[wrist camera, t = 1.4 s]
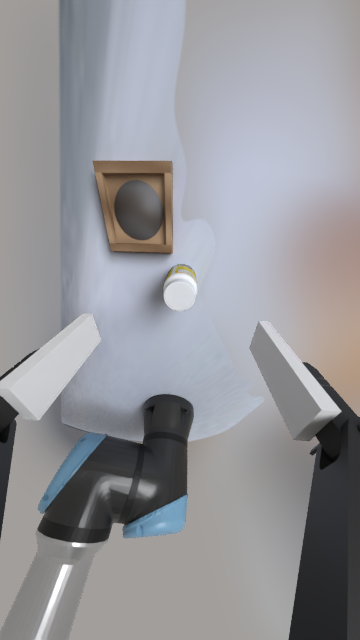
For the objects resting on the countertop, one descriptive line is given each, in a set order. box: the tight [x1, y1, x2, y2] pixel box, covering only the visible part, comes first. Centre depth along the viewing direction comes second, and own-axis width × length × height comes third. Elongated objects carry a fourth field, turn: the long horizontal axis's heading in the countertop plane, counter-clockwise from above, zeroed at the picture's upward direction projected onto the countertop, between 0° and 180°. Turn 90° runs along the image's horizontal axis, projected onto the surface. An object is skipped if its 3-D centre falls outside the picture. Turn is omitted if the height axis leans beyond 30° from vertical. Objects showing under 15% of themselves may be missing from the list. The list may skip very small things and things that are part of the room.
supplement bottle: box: [163, 264, 197, 311], centre depth 22 cm, size 5×5×8 cm
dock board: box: [93, 161, 173, 253], centre depth 21 cm, size 10×9×2 cm
